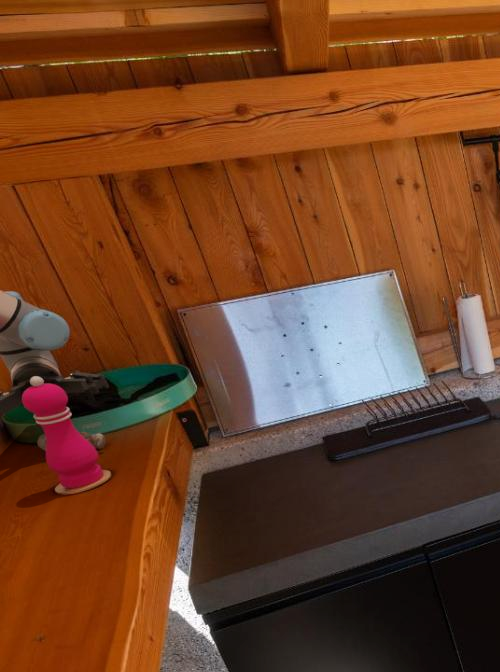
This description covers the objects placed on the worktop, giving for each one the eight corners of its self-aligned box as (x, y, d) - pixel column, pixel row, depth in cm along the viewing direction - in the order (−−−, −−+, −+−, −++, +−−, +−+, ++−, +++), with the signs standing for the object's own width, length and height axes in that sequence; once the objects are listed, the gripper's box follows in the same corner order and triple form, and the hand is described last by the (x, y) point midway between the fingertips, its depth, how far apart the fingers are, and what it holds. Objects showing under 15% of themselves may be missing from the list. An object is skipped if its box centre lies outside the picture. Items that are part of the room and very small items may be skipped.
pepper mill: (48, 487, 135) (-4, 383, 126) (85, 468, 142) (38, 367, 132) (80, 491, 134) (29, 385, 124) (116, 472, 140) (71, 370, 131)
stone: (115, 448, 153) (94, 417, 154) (102, 438, 148) (80, 406, 149) (62, 474, 149) (41, 442, 150) (47, 465, 144) (25, 432, 145)
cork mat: (44, 496, 134) (43, 494, 134) (77, 473, 142) (76, 471, 142) (91, 492, 134) (90, 490, 134) (121, 469, 142) (120, 467, 141)
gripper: (119, 379, 158) (135, 404, 143) (-34, 419, 144) (-34, 452, 130) (103, 344, 154) (117, 367, 140) (-56, 382, 141) (-59, 412, 126)
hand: (44, 408), depth 135 cm, fingers open, 13 cm apart
